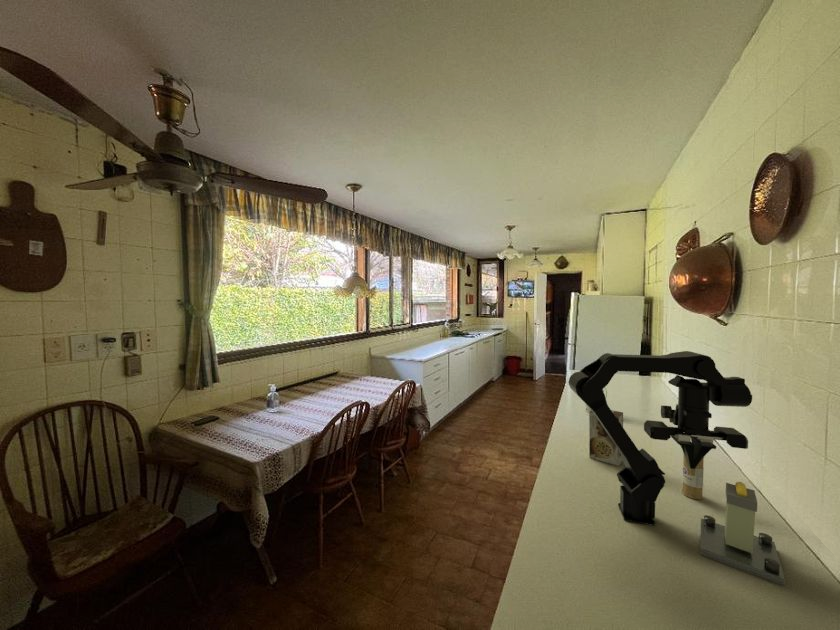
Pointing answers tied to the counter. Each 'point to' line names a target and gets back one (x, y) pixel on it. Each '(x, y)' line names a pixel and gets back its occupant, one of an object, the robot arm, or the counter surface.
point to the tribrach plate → (741, 552)
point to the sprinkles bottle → (692, 480)
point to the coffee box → (603, 441)
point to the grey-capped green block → (740, 516)
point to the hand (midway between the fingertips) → (691, 468)
